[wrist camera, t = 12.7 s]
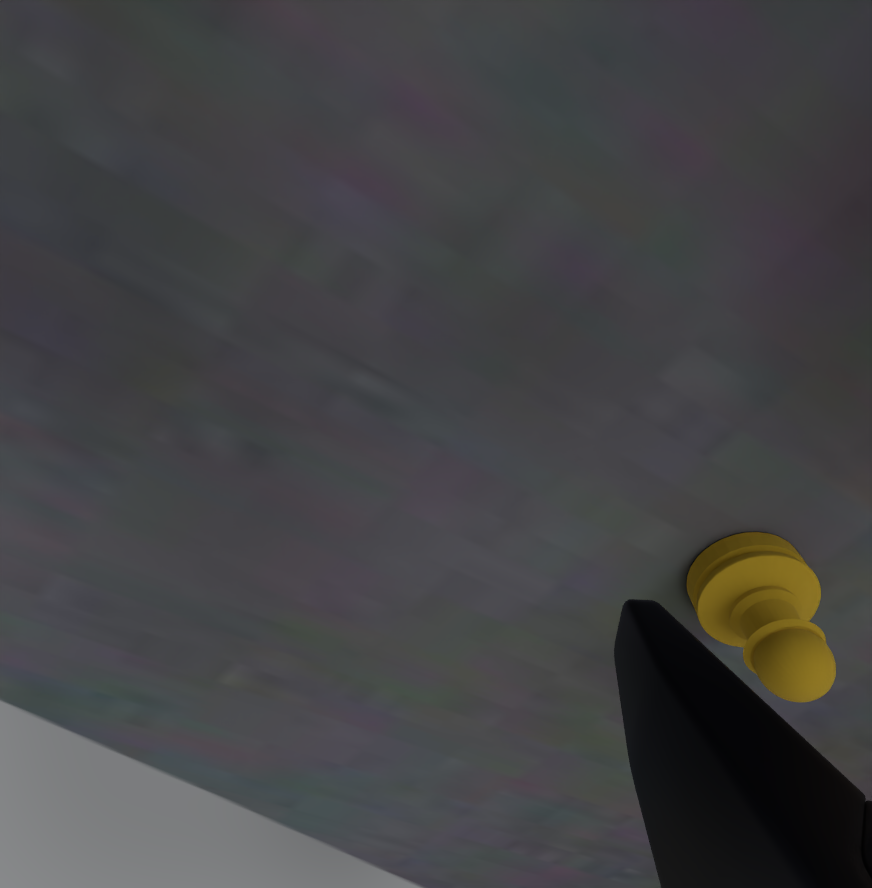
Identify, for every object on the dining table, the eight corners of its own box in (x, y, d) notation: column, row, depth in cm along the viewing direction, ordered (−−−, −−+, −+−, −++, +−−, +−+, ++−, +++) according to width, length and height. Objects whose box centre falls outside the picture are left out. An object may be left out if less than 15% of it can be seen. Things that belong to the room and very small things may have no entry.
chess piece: (818, 593, 23) (902, 709, 19) (711, 636, 24) (766, 756, 20) (779, 512, 22) (860, 619, 17) (667, 562, 23) (716, 674, 18)
